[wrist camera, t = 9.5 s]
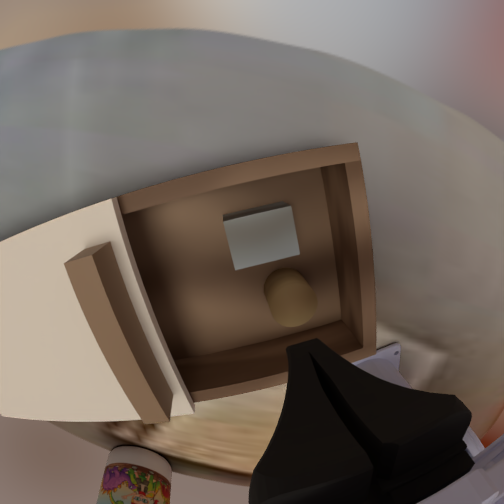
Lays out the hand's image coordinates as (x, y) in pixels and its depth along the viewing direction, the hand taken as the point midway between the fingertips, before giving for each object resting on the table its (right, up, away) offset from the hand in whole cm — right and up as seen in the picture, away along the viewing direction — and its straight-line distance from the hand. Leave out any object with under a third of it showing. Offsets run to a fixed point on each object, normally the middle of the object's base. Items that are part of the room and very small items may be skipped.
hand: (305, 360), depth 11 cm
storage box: (-5, +3, +9) cm, 11 cm away
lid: (-17, -2, +4) cm, 18 cm away
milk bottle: (-15, -20, +15) cm, 30 cm away
